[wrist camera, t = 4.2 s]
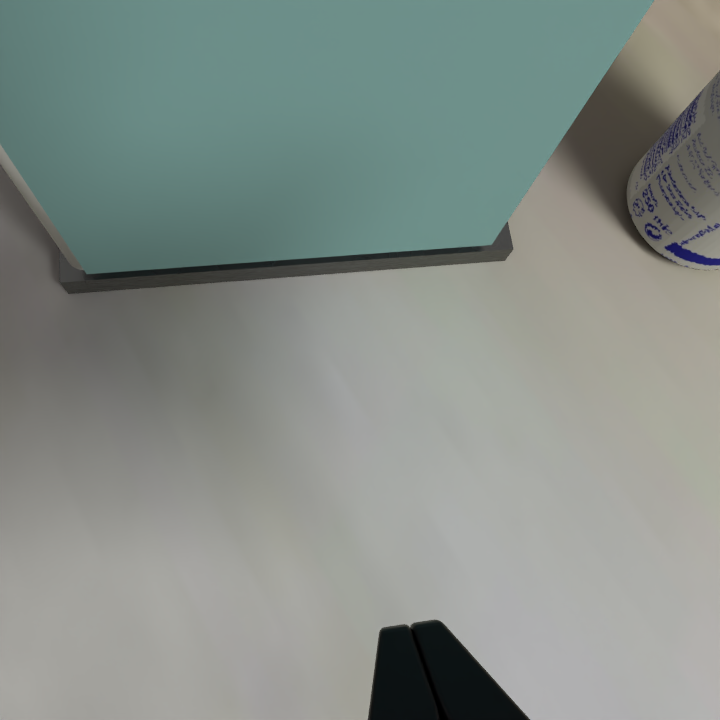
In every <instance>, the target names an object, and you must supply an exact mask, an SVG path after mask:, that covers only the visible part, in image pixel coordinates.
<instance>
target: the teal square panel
mask: <svg viewBox="0 0 720 720" xmlns="http://www.w3.org/2000/svg"><path fill="white" fill-rule="evenodd" d="M653 1H654V0H0V165H1V166H2V167H3V169H4V170H5V172H6V173H7V175H8V176H9V177H10V179H11V180H12V182H13V183H14V185H15V186H16V187H17V189H18V190H19V192H20V193H21V195H22V196H23V197H24V199H25V200H26V202H27V203H28V205H29V206H30V207H31V209H32V210H33V212H34V213H35V215H36V216H37V218H38V219H39V220H40V222H41V223H42V225H43V226H44V228H45V229H46V230H47V232H48V233H49V235H50V236H51V238H52V239H53V240H54V242H55V243H56V245H57V246H58V248H59V249H60V250H61V252H62V253H63V255H64V256H65V258H66V259H67V260H68V262H69V263H70V264H71V265H72V266H73V267H74V268H77V269H80V270H84V271H85V272H86V274H96V273H110V272H124V271H138V270H152V269H166V268H180V267H193V266H207V265H221V264H235V263H249V262H263V261H277V260H290V259H304V258H318V257H332V256H346V255H360V254H374V253H387V252H401V251H415V250H429V249H443V248H457V247H470V246H484V245H492V243H493V242H494V240H495V239H496V237H497V236H498V234H499V233H500V231H501V230H502V228H503V227H504V225H505V224H506V222H507V221H508V219H509V218H510V216H511V215H512V213H513V212H514V210H515V209H516V207H517V206H518V204H519V203H520V201H521V200H522V198H523V197H524V195H525V194H526V192H527V191H528V189H529V188H530V186H531V185H532V183H533V182H534V180H535V179H536V177H537V176H538V174H539V173H540V171H541V170H542V168H543V167H544V165H545V164H546V162H547V161H548V159H549V158H550V156H551V155H552V153H553V152H554V150H555V149H556V147H557V146H558V144H559V143H560V141H561V140H562V138H563V137H564V135H565V134H566V132H567V131H568V129H569V128H570V126H571V125H572V123H573V122H574V120H575V119H576V117H577V116H578V114H579V113H580V111H581V110H582V108H583V107H584V105H585V104H586V102H587V101H588V99H589V98H590V96H591V95H592V93H593V92H594V90H595V89H596V87H597V86H598V84H599V83H600V81H601V80H602V78H603V77H604V75H605V74H606V72H607V71H608V69H609V68H610V66H611V65H612V63H613V62H614V60H615V59H616V57H617V56H618V54H619V53H620V51H621V50H622V48H623V47H624V45H625V44H626V42H627V41H628V39H629V38H630V36H631V35H632V33H633V32H634V30H635V29H636V27H637V26H638V24H639V23H640V21H641V19H642V18H643V16H644V15H645V13H646V12H647V10H648V9H649V7H650V6H651V4H652V3H653Z"/></svg>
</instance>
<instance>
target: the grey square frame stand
mask: <svg viewBox="0 0 720 720" xmlns="http://www.w3.org/2000/svg"><path fill="white" fill-rule="evenodd" d="M512 250H513V245H512V240H511V236H510V231H509V226H508V221H507V222H506V224H505V225H504V227H503V228H502V230H501V231H500V233H499V234H498V236H497V237H496V239H495V240H494V242H493V243H492V245H484V246H470V247H457V248H443V249H429V250H415V251H401V252H387V253H374V254H360V255H346V256H332V257H318V258H304V259H290V260H277V261H263V262H249V263H235V264H221V265H207V266H193V267H180V268H166V269H152V270H138V271H124V272H110V273H96V274H86V272H85V271H84V270H80V269H77V268H74V267H73V266H72V265H71V264H70V263H69V262H68V260H67V259H66V258H65V256H64V255H63V253H62V252H61V250H60V249H59V276H60V284H61V285H62V286H63V287H64V289H65V290H66V291H67V293H68V294H70V293H83V292H96V291H110V290H123V289H136V288H149V287H162V286H176V285H189V284H202V283H215V282H228V281H242V280H255V279H268V278H281V277H294V276H307V275H321V274H334V273H347V272H360V271H373V270H387V269H400V268H413V267H426V266H439V265H453V264H466V263H479V262H492V261H505V260H506V258H507V257H508V256H509V254H510V253H511V252H512Z"/></svg>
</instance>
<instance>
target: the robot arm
mask: <svg viewBox="0 0 720 720" xmlns="http://www.w3.org/2000/svg"><path fill="white" fill-rule="evenodd" d="M368 720H530V719H529V718H528V717H527V716H526V715H525V714H524V712H523V711H522V710H521V709H520V708H519V707H518V706H517V705H516V704H515V702H514V701H513V700H512V699H511V698H510V697H509V696H508V695H507V694H506V692H505V691H504V690H503V689H502V688H501V687H500V686H499V685H498V684H497V682H496V681H495V680H494V679H493V678H492V677H491V676H490V675H489V674H488V672H487V671H486V670H485V669H484V668H483V667H482V666H481V665H480V664H479V662H478V661H477V660H476V659H475V658H474V657H473V656H472V655H471V654H470V652H469V651H468V650H467V649H466V648H465V647H464V646H463V645H462V644H461V642H460V641H459V640H458V639H457V638H456V637H455V636H454V635H453V634H452V632H451V631H450V630H449V629H448V628H447V627H446V626H445V625H444V624H443V623H442V622H441V621H439V620H429V621H422V622H416V623H413V624H412V625H411V627H409V626H408V625H405V624H403V625H396V626H390V627H384V628H382V629H381V630H380V632H379V638H378V646H377V654H376V661H375V669H374V677H373V685H372V692H371V700H370V708H369V715H368Z"/></svg>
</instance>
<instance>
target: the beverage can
mask: <svg viewBox="0 0 720 720" xmlns="http://www.w3.org/2000/svg"><path fill="white" fill-rule="evenodd" d="M627 203H628V208H629V212H630V215H631V218H632V220H633V222H634V224H635V226H636V228H637V230H638V231H639V233H640V234H641V235H642V237H643V238H644V239H645V240H646V242H647V243H648V244H649V245H650V246H651V247H652V248H654V249H655V250H656V251H657V252H659V253H660V254H661V255H662V256H664V257H666V258H667V259H669V260H671V261H673V262H675V263H677V264H679V265H682V266H685V267H688V268H693V269H698V270H717V269H720V71H719V72H718V73H717V74H716V75H715V77H714V78H713V79H712V80H711V81H710V82H709V83H708V84H707V85H706V87H705V88H704V89H703V90H702V91H701V92H700V93H699V94H698V96H697V97H696V98H695V99H694V100H693V101H692V102H691V103H690V105H689V106H688V107H687V108H686V109H685V110H684V111H683V112H682V113H681V115H680V116H679V117H678V118H677V119H676V120H675V121H674V122H673V124H672V125H671V126H670V127H669V128H668V129H667V130H666V131H665V133H664V134H663V135H662V136H661V137H660V138H659V139H658V140H657V141H656V143H655V144H654V145H653V146H652V147H651V148H650V149H649V150H648V152H647V153H646V154H645V155H644V156H643V157H642V158H641V159H640V161H639V162H638V163H637V164H636V166H635V167H634V169H633V170H632V172H631V175H630V177H629V181H628V185H627Z"/></svg>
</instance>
